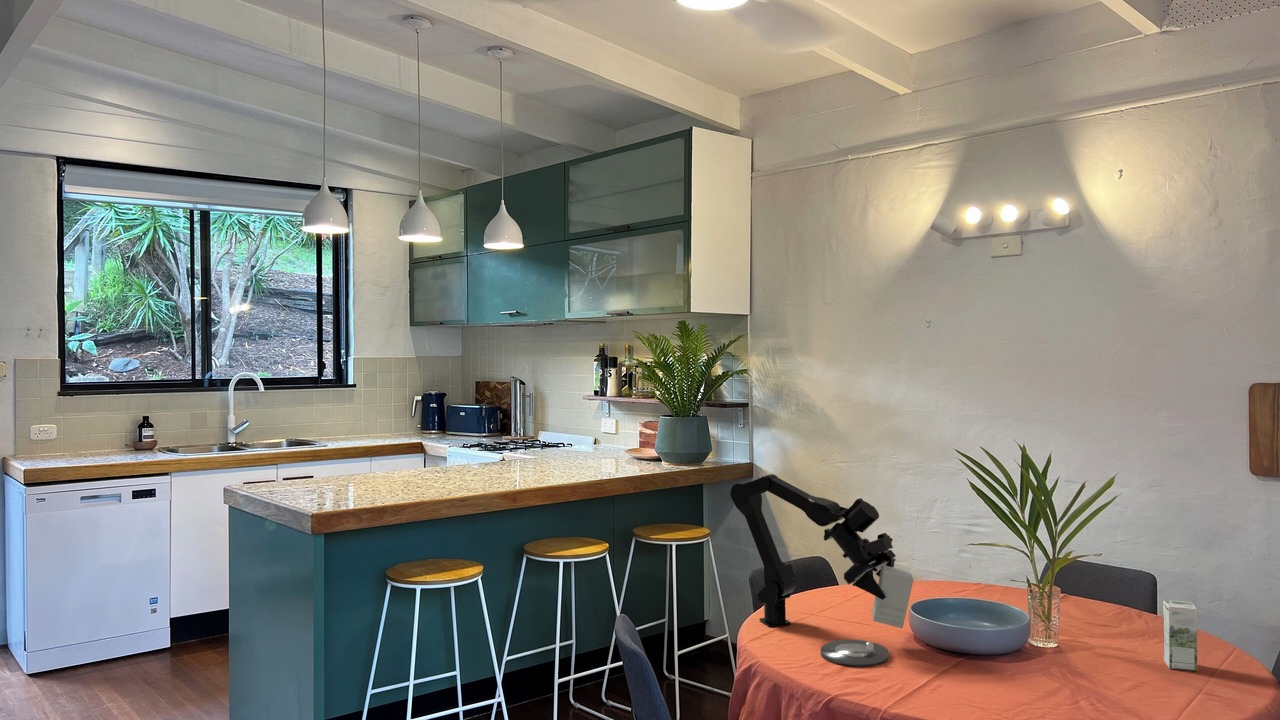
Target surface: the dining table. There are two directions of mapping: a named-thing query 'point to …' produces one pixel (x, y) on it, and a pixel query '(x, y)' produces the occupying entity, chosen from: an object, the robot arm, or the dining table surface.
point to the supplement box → (892, 596)
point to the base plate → (854, 653)
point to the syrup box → (1180, 635)
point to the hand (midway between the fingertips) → (892, 594)
